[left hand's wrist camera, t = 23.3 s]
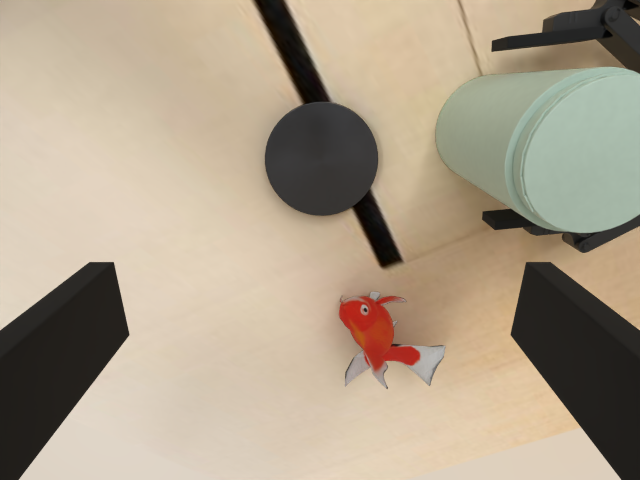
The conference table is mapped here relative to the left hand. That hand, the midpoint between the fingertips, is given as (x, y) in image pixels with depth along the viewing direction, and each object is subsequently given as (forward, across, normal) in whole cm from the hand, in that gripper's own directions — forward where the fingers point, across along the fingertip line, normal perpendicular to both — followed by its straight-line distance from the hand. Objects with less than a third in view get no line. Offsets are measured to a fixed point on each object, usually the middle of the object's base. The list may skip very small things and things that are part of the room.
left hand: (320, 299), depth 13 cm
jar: (+27, +16, +3) cm, 31 cm away
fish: (+27, +7, -19) cm, 34 cm away
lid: (+26, 0, 0) cm, 26 cm away
